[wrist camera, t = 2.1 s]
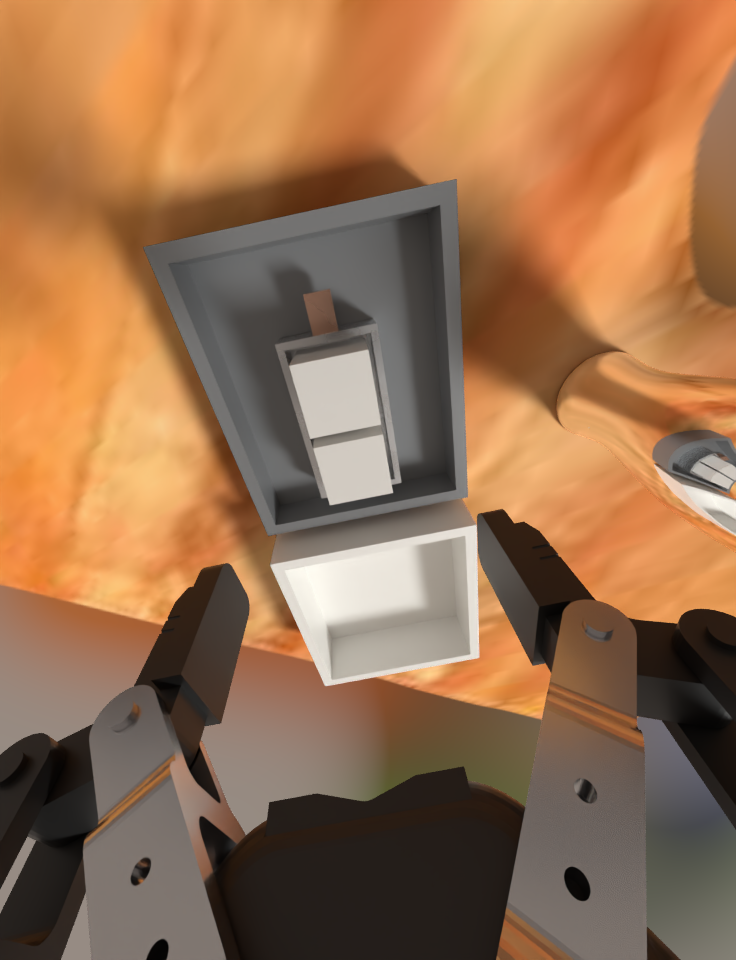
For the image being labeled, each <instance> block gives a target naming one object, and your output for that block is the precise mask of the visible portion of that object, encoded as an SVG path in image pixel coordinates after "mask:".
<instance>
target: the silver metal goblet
mask: <svg viewBox="0 0 736 960" xmlns="http://www.w3.org/2000/svg"><path fill="white" fill-rule="evenodd" d="M556 412H557V417H558V419H559V421H560V423H561V424H562V426H563V427H564V428H565V429H566V430H568V431H570V432H571V433H573V434H576V435H579V436H582V437H585V438H588V439H590V440H593V441H595V442H597V443H599V444H601V445H602V446H604V447H605V448H606V449H608V451H610V452H611V453H612V454H613V455H614V456H615V457H616V458H617V459H618V460H619V461H620V463H621V464H622V465H623V466H624V467H625V468H626V469H627V470H628V471H629V472H630V473H631V474H632V475H633V476H634V477H635V478H636V479H637V481H638V482H639V483H640V484H641V485H642V486H643V487H644V488H645V489H647V490H648V491H649V492H650V493H651V494H652V495H653V496H654V497H655V498H656V499H657V500H658V501H660V502H661V503H662V504H663V505H664V506H666V507H667V508H668V509H670V510H671V511H672V512H674V513H675V514H676V515H678V516H679V517H680V518H682V519H683V520H684V521H686V522H687V523H689V524H690V525H692V526H693V527H695V528H696V529H698V530H699V531H701V532H702V533H704V534H706V535H707V536H709V537H710V538H712V539H713V540H715V541H717V542H718V543H720V544H722V545H723V546H725V547H727V548H728V549H730V550H732V551H733V552H735V553H736V378H728V377H716V376H703V375H689V374H679V373H670V372H665V371H661V370H658V369H655V368H652V367H650V366H648V365H646V364H645V363H643V362H642V361H640V360H638V359H637V358H635V357H634V356H632V355H630V354H627V353H624V352H619V351H611V352H604V353H601V354H598V355H595V356H593V357H591V358H589V359H587V360H586V361H584V362H583V363H581V364H580V365H579V366H578V367H577V368H575V369H574V370H573V371H572V373H571V374H570V375H569V376H568V377H567V379H566V380H565V382H564V383H563V385H562V387H561V389H560V392H559V394H558V398H557V403H556Z"/></svg>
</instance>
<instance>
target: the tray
mask: <svg viewBox="0 0 736 960" xmlns="http://www.w3.org/2000/svg"><path fill="white" fill-rule="evenodd" d="M143 248H144V251H145V253H146V255H147V258H148V260H149V262H150V265H151V267H152V269H153V272H154V274H155V276H156V278H157V281H158V283H159V285H160V288H161V290H162V292H163V295H164V297H165V299H166V301H167V304H168V306H169V308H170V311H171V313H172V315H173V318H174V320H175V322H176V325H177V327H178V329H179V331H180V334H181V336H182V338H183V341H184V343H185V345H186V348H187V350H188V352H189V354H190V357H191V359H192V361H193V364H194V366H195V368H196V371H197V373H198V375H199V378H200V380H201V382H202V384H203V387H204V389H205V391H206V394H207V396H208V398H209V401H210V403H211V405H212V407H213V410H214V412H215V414H216V417H217V419H218V421H219V424H220V426H221V428H222V431H223V433H224V435H225V437H226V440H227V442H228V444H229V447H230V449H231V451H232V454H233V456H234V458H235V460H236V463H237V465H238V467H239V470H240V472H241V474H242V477H243V479H244V481H245V484H246V486H247V488H248V490H249V493H250V495H251V497H252V500H253V502H254V504H255V507H256V509H257V511H258V513H259V516H260V518H261V520H262V523H263V525H264V527H265V530H266V532H267V534H268V536H271V535H276V534H281V533H287V532H292V531H297V530H302V529H307V528H312V527H317V526H322V525H327V524H333V523H338V522H343V521H348V520H353V519H358V518H363V517H368V516H374V515H379V514H384V513H389V512H394V511H399V510H404V509H409V508H414V507H420V506H425V505H430V504H435V503H440V502H445V501H450V500H455V499H460V498H466V497H468V487H467V459H466V431H465V403H464V375H463V347H462V318H461V290H460V262H459V234H458V206H457V179H454V180H450V181H445V182H440V183H436V184H431V185H427V186H422V187H417V188H413V189H408V190H404V191H399V192H394V193H390V194H385V195H381V196H376V197H371V198H367V199H362V200H358V201H353V202H348V203H344V204H339V205H335V206H330V207H325V208H321V209H316V210H312V211H307V212H302V213H298V214H293V215H289V216H284V217H279V218H275V219H270V220H266V221H261V222H256V223H252V224H247V225H243V226H238V227H233V228H229V229H224V230H220V231H215V232H210V233H206V234H201V235H197V236H192V237H187V238H183V239H178V240H174V241H169V242H164V243H160V244H155V245H151V246H146V247H143ZM325 289H330V291H331V295H332V300H333V305H334V310H335V315H336V319H337V324H338V326H339V325H343V324H348V323H353V322H358V321H363V320H367V319H372V318H373V319H374V320H375V321H376V323H377V326H378V332H379V339H380V345H381V352H382V358H383V365H384V371H385V378H386V384H387V391H388V397H389V404H390V411H391V417H392V424H393V430H394V437H395V443H396V450H397V456H398V463H399V469H400V476H401V482H402V483H398V484H393V485H392V490H393V493H390V494H385V495H380V496H375V497H370V498H365V499H360V500H355V501H350V502H345V503H340V504H334V505H330V504H329V501H328V497H327V498H321V495H320V491H319V488H318V485H317V482H316V478H315V475H314V472H313V468H312V465H311V462H310V459H309V455H308V452H307V449H306V446H305V442H304V439H303V436H302V432H301V429H300V426H299V423H298V419H297V416H296V413H295V410H294V406H293V403H292V400H291V396H290V393H289V390H288V387H287V383H286V380H285V377H284V373H283V370H282V367H281V364H280V360H279V357H278V354H277V351H276V347H275V344H276V343H277V341H278V340H279V339H280V338H281V337H286V336H291V335H296V334H300V333H305V332H310V331H312V329H311V325H310V321H309V317H308V313H307V309H306V305H305V301H304V297H303V294H306V293H311V292H315V291H320V290H325Z"/></svg>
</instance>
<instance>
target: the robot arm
mask: <svg viewBox="0 0 736 960" xmlns="http://www.w3.org/2000/svg"><path fill="white" fill-rule="evenodd" d="M477 531H478V554H479V558H480V562H481V565H482V568H483V570H484V572H485V574H486V576H487V578H488V580H489V582H490V583H491V585H492V587H493V589H494V591H495V593H496V595H497V597H498V599H499V601H500V603H501V605H502V607H503V609H504V611H505V613H506V615H507V617H508V619H509V621H510V623H511V624H512V626H513V628H514V630H515V632H516V634H517V636H518V638H519V640H520V642H521V644H522V646H523V648H524V650H525V652H526V654H527V656H528V658H529V660H530V662H531V663H532V665H533V666H534V665H539V664H544V663H546V665H547V666H548V668H549V670H550V672H551V678H550V683H549V688H548V692H547V697H546V702H545V707H544V712H543V717H542V723H541V728H540V733H539V739H538V744H537V749H536V755H535V760H534V765H533V770H532V776H531V781H530V786H529V791H528V797H527V802H526V807H524V806H523V805H522V804H521V803H519V802H518V801H517V800H515V799H513V798H512V797H510V796H508V795H507V794H506V793H504V792H502V791H499V790H497V789H495V788H493V787H491V786H488V785H485V784H481V783H478V782H472V781H468V780H467V776H466V772H465V769H464V767H458V768H453V769H447V770H442V771H437V772H431V773H426V774H421V775H415V776H414V777H412V778H410V779H408V780H406V781H405V782H403V783H401V784H399V785H397V786H395V787H394V788H392V789H390V790H388V791H387V792H385V793H383V794H381V795H379V796H377V797H376V798H374V799H372V800H369V801H357V800H351V799H345V798H340V797H334V796H328V795H322V794H312V795H306V796H301V797H296V798H290V799H285V800H279V801H274V802H270V803H269V809H268V817H267V820H266V821H265V822H263V823H261V824H260V825H259V826H257V827H256V828H254V829H253V830H252V831H251V832H250V833H248V834H247V835H246V834H245V832H244V831H243V829H242V827H241V825H240V824H239V822H238V821H237V819H236V818H235V816H234V814H233V813H232V811H231V809H230V807H229V805H228V803H227V800H226V798H225V795H224V793H223V790H222V788H221V785H220V783H219V781H218V778H217V775H216V773H215V770H214V768H213V766H212V763H211V761H210V758H209V756H208V753H207V751H206V748H205V746H204V744H203V742H202V741H201V737H202V733H203V730H204V726H209V725H215V724H220V723H221V721H222V717H223V713H224V710H225V706H226V702H227V698H228V694H229V690H230V686H231V682H232V678H233V674H234V670H235V667H236V663H237V659H238V654H239V651H240V647H241V643H242V639H243V635H244V631H245V628H246V624H247V620H248V616H249V600H248V596H247V594H246V592H245V590H244V588H243V586H242V584H241V583H240V581H239V579H238V577H237V575H236V573H235V571H234V570H233V568H232V566H231V565H230V564H228V563H226V564H221V565H216V566H211V567H206V568H203V569H202V570H201V571H200V573H199V576H198V578H197V580H196V582H195V584H194V587H189V588H188V589H187V590H186V591H185V592H184V593H183V594H182V595H181V596H180V598H179V599H178V600H177V601H176V602H175V604H174V606H173V608H172V610H171V612H170V614H169V616H168V621H166V622H165V624H164V626H163V628H162V633H161V634H159V637H158V639H157V641H156V643H155V645H154V647H153V649H152V651H151V653H150V655H149V657H148V659H147V661H146V663H145V665H144V667H143V669H142V671H141V673H140V675H139V677H138V679H137V681H136V683H135V685H134V687H132V688H129V689H127V690H125V691H124V692H122V693H120V694H119V695H118V696H116V697H115V698H114V699H113V700H112V701H110V702H109V704H107V706H106V707H105V708H104V709H103V710H102V711H101V713H100V714H99V715H98V717H97V718H96V720H95V722H94V724H92V725H90V726H88V727H86V728H84V729H82V730H80V731H78V732H76V733H74V734H72V735H70V736H68V737H66V738H64V739H62V740H60V741H58V742H56V741H55V740H54V739H52V738H51V737H49V736H48V735H46V734H44V733H38V734H33V735H30V736H28V737H25V738H23V739H21V740H20V741H18V742H16V743H15V744H13V745H12V746H11V747H9V748H8V749H7V750H5V751H4V752H3V753H2V754H1V755H0V889H1V887H2V885H3V883H4V881H5V879H6V877H7V875H8V873H9V871H10V869H11V867H12V865H13V863H14V861H15V859H16V857H17V855H18V853H19V852H20V850H21V848H22V846H23V844H24V842H25V840H26V838H27V836H28V837H30V838H32V839H34V840H36V842H35V844H34V846H33V848H32V851H31V853H30V854H29V856H28V858H27V861H26V863H25V865H24V867H23V869H22V871H21V873H20V875H19V877H18V879H17V881H16V883H15V885H14V887H13V889H12V891H11V893H10V895H9V897H8V899H7V901H6V903H5V905H4V907H3V909H2V911H1V913H0V960H61V957H62V955H63V952H64V949H65V947H66V944H67V941H68V938H69V936H70V933H71V931H72V928H73V925H74V922H75V920H76V917H77V914H78V912H79V909H80V906H81V904H82V901H83V898H84V895H85V893H86V897H87V909H88V922H89V935H90V947H91V960H680V959H679V958H678V957H677V956H676V955H675V954H674V953H673V952H672V951H671V950H670V949H669V948H668V947H667V946H666V945H665V944H664V943H663V942H662V941H661V940H660V939H659V938H658V937H657V936H656V935H655V934H654V933H653V932H652V931H651V930H650V929H649V928H648V927H647V921H646V920H647V916H646V841H645V840H646V838H645V837H646V833H645V752H644V739H643V734H642V732H641V730H639V729H638V727H637V716H640V717H646V718H652V719H658V720H662V722H663V723H664V724H665V726H666V727H667V729H668V730H669V731H670V733H671V735H672V736H673V738H674V739H675V741H676V742H677V744H678V745H679V747H680V748H681V749H682V751H683V752H684V754H685V755H686V757H687V758H688V760H689V761H690V763H691V764H692V766H693V767H694V769H695V770H696V772H697V773H698V775H699V776H700V777H701V779H702V780H703V781H704V783H705V785H706V786H707V788H708V789H709V791H710V792H711V794H712V795H713V797H714V798H715V800H716V801H717V803H718V804H719V805H720V807H721V808H722V810H723V811H724V813H725V814H726V816H727V817H728V819H729V820H730V821H731V823H732V824H733V826H734V828H735V829H736V617H734V616H731V615H729V614H726V613H723V612H719V611H715V610H709V609H694V610H690V611H687V612H685V613H684V614H683V615H682V616H681V617H680V619H679V622H678V624H675V623H664V622H653V621H643V620H635V619H631V618H627V617H626V616H625V615H624V614H623V613H622V612H620V611H619V610H618V609H616V608H614V607H613V606H610V605H608V604H606V603H603V602H600V601H596V600H595V599H594V598H593V597H592V595H591V594H590V593H589V592H588V590H587V589H586V588H585V587H584V585H583V584H582V583H581V582H580V581H579V579H578V578H577V577H576V576H575V574H574V573H573V572H572V571H571V569H570V568H569V567H568V566H567V565H566V563H565V562H564V561H563V560H562V558H561V557H559V556H558V553H557V552H556V551H555V550H554V549H553V547H552V546H550V544H549V542H548V541H547V540H546V539H545V537H544V536H543V535H542V534H541V533H540V531H538V530H537V529H535V528H533V527H532V526H530V525H528V524H527V523H525V522H520V523H515V524H514V523H513V521H512V520H511V519H510V517H509V516H508V514H507V513H506V512H505V511H504V510H503V509H500V510H495V511H490V512H485V513H480V514H478V516H477Z"/></svg>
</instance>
